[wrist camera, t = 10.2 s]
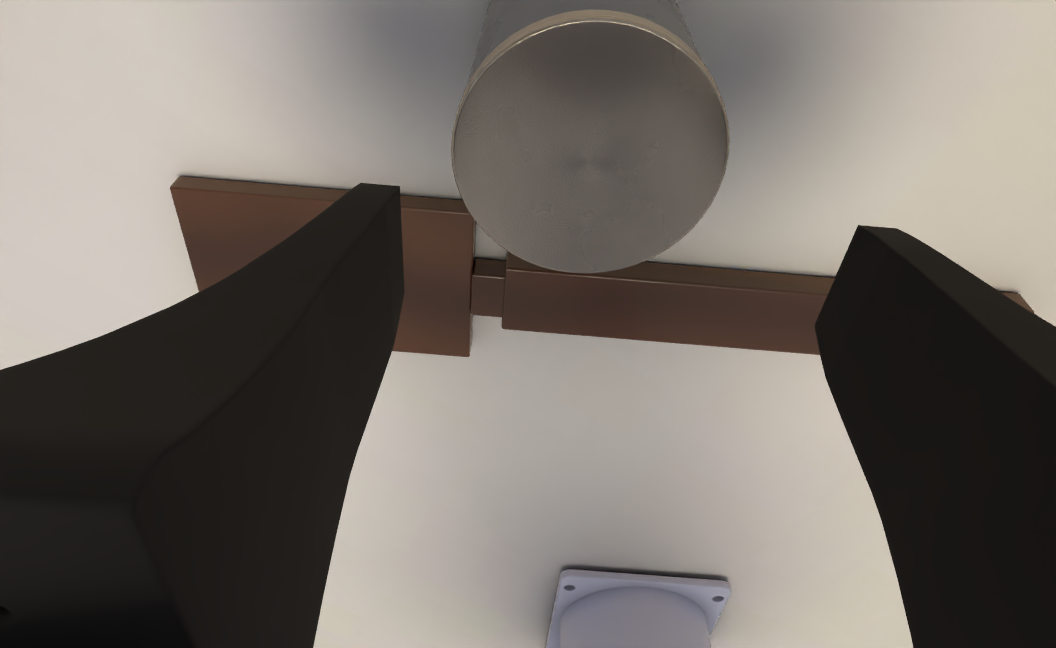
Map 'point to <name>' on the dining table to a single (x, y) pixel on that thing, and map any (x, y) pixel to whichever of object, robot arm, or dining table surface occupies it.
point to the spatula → (510, 278)
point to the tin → (588, 132)
